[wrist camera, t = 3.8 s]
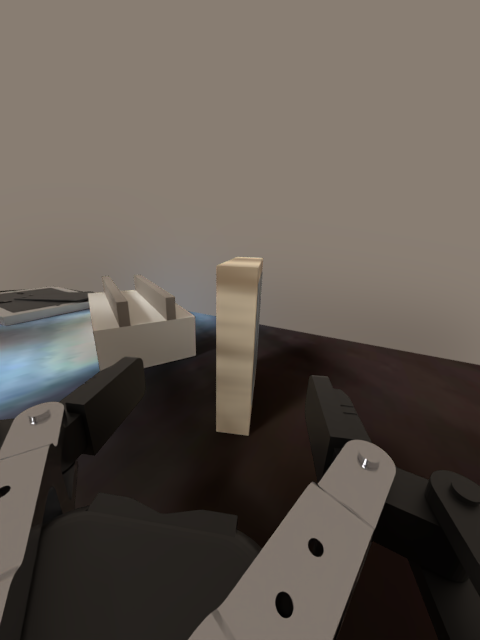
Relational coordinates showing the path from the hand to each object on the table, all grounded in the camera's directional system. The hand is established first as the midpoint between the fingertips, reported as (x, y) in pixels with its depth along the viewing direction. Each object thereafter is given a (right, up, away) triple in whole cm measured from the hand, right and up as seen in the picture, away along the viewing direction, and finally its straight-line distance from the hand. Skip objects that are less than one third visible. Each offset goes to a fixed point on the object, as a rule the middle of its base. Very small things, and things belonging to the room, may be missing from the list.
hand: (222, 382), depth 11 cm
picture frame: (-40, +5, +36) cm, 54 cm away
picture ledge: (-14, +1, +22) cm, 26 cm away
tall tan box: (+1, -4, +10) cm, 11 cm away
